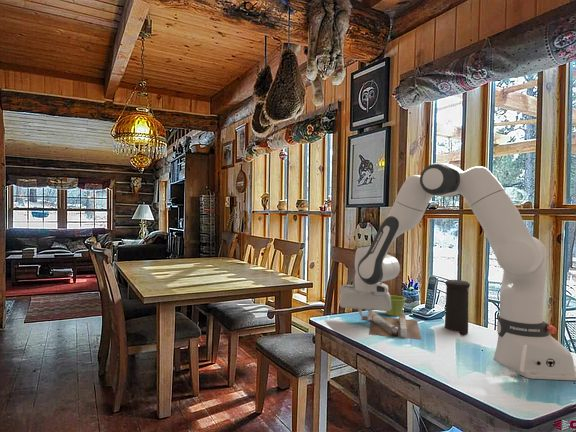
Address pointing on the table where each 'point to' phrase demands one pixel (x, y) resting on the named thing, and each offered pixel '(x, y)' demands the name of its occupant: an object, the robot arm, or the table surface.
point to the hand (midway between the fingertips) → (365, 320)
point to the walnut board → (410, 324)
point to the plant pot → (396, 305)
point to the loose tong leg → (384, 324)
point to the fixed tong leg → (402, 326)
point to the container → (457, 306)
